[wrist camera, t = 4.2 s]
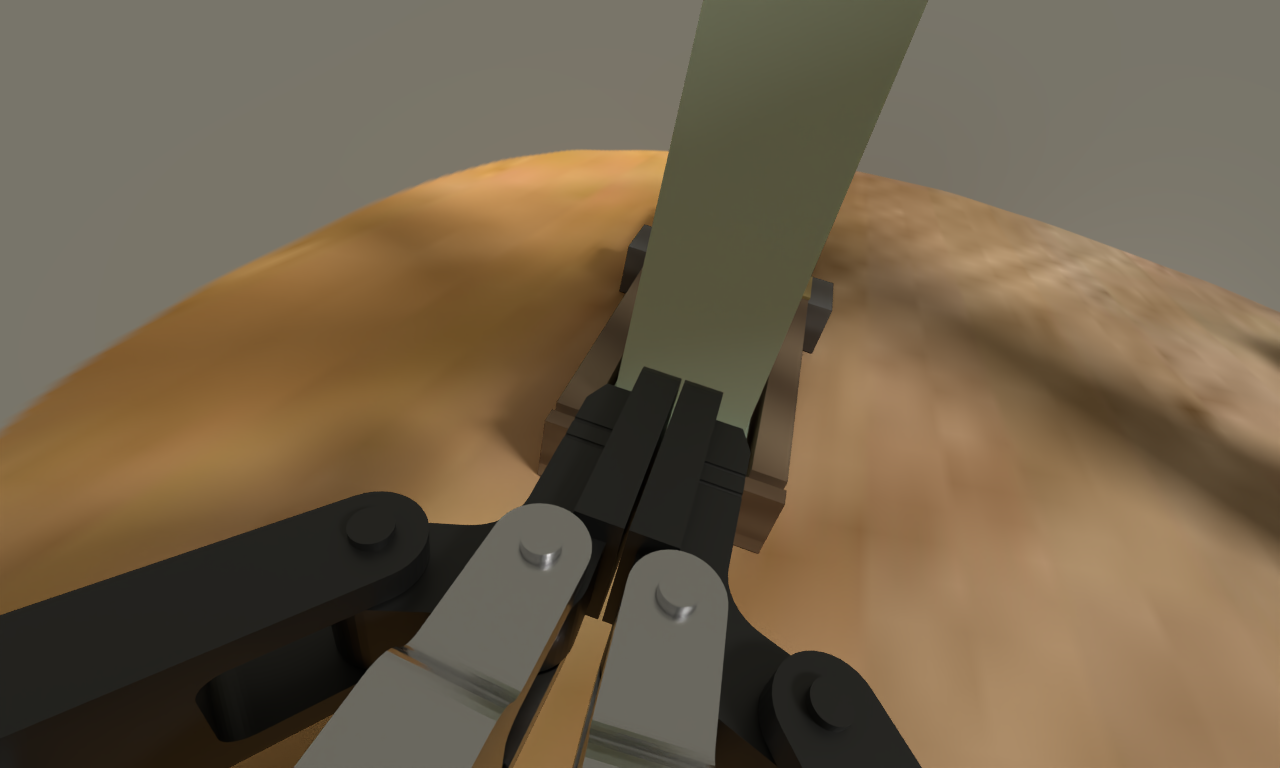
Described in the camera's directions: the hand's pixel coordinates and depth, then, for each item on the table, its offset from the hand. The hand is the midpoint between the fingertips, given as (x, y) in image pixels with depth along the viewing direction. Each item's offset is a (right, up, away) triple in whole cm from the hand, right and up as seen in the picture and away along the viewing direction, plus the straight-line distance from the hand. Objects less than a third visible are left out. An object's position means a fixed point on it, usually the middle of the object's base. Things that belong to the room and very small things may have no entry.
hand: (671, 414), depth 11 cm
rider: (+1, -2, +13) cm, 13 cm away
